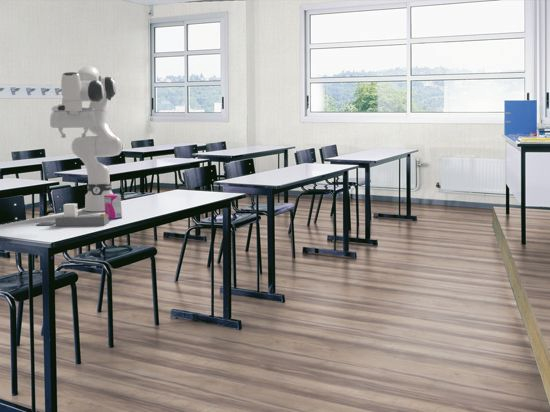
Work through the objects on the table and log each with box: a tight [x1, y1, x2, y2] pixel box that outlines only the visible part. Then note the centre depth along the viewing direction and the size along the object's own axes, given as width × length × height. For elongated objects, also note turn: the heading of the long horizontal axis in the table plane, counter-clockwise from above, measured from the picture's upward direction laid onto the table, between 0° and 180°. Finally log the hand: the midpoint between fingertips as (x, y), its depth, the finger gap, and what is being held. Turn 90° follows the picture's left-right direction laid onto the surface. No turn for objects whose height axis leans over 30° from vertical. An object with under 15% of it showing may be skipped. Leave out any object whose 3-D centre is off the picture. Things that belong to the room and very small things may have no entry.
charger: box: [62, 203, 79, 217], centre depth 300 cm, size 4×5×7 cm
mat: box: [35, 221, 55, 227], centre depth 302 cm, size 7×7×1 cm
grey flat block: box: [54, 212, 112, 227], centre depth 304 cm, size 16×22×5 cm
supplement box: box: [104, 193, 123, 220], centre depth 317 cm, size 6×6×12 cm
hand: (73, 137), depth 306 cm, fingers open, 8 cm apart
